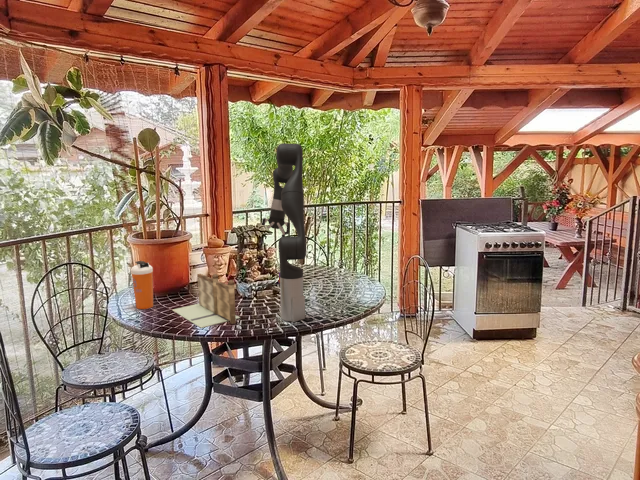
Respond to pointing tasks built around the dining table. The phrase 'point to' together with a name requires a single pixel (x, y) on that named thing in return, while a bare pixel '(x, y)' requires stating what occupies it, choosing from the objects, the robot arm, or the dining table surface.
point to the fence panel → (206, 291)
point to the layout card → (200, 315)
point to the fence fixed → (224, 299)
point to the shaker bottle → (143, 284)
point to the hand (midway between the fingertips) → (273, 240)
